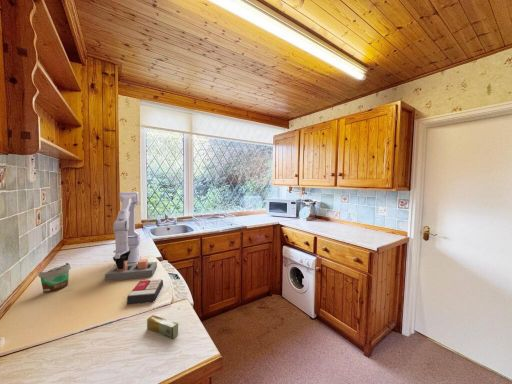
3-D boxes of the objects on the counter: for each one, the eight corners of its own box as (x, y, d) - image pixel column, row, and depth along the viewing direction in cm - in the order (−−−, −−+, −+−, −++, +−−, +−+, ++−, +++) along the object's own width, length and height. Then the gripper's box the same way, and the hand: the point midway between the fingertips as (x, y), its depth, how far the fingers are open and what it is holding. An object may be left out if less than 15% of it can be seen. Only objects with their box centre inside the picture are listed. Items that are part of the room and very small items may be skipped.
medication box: (178, 334, 72) (179, 323, 72) (173, 339, 70) (173, 327, 70) (152, 325, 77) (152, 314, 77) (146, 329, 74) (146, 318, 74)
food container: (50, 295, 95) (48, 273, 95) (39, 294, 97) (38, 272, 96) (78, 282, 107) (77, 263, 107) (68, 281, 109) (67, 262, 108)
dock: (114, 271, 121) (114, 259, 120) (157, 267, 126) (156, 255, 126) (105, 281, 109) (104, 267, 109) (152, 276, 114) (151, 263, 114)
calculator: (163, 278, 106) (154, 292, 91) (163, 286, 106) (154, 302, 91) (139, 280, 104) (126, 295, 89) (139, 288, 104) (126, 305, 89)
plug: (119, 271, 118) (119, 261, 117) (127, 271, 119) (127, 260, 118) (116, 274, 114) (116, 263, 114) (125, 274, 115) (124, 263, 115)
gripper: (118, 239, 121) (119, 262, 122) (107, 246, 107) (108, 273, 108) (132, 238, 123) (133, 261, 124) (123, 246, 109) (124, 271, 110)
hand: (122, 266), depth 116 cm, fingers open, 5 cm apart
